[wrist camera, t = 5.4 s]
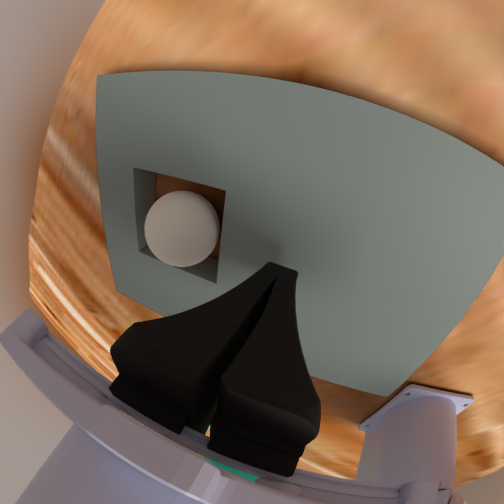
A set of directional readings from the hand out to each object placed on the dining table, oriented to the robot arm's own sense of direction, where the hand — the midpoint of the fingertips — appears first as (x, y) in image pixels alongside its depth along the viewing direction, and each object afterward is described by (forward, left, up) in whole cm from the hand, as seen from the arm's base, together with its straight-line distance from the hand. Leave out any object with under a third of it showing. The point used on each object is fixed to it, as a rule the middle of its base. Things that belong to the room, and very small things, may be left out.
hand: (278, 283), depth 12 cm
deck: (0, +1, -3) cm, 4 cm away
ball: (0, +6, -1) cm, 6 cm away
